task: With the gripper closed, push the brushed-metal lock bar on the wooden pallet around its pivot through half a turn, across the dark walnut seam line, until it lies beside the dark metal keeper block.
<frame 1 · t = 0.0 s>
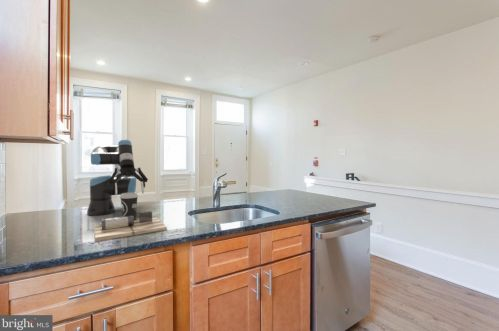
hand: (130, 193, 138), 15 cm above the worktop, tool tilted 35°, fingers open, 13 cm apart
coffee cup: (129, 219, 140), on the worktop
wooden pallet: (130, 229, 122), on the worktop
lock bar: (118, 222, 120), point 4 cm above the worktop, hinge at 0.0°
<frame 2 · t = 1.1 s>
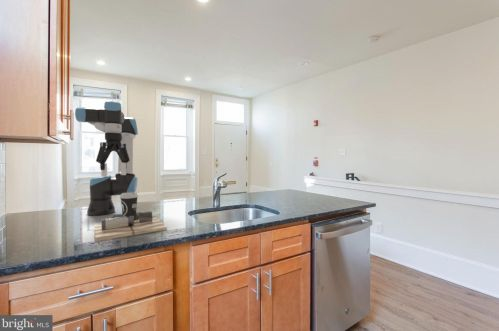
hand: (114, 175, 125), 26 cm above the worktop, tool pointing down, fingers open, 11 cm apart
nothing on the worktop moved.
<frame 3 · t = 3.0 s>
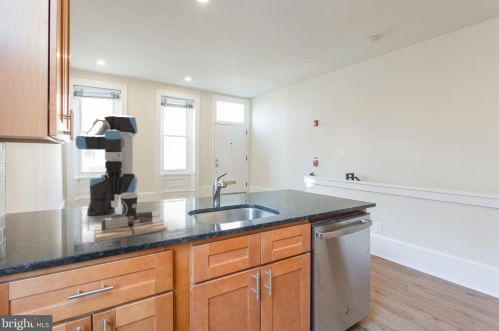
hand: (114, 206, 125), 10 cm above the worktop, tool pointing down, fingers closed
nothing on the worktop moved.
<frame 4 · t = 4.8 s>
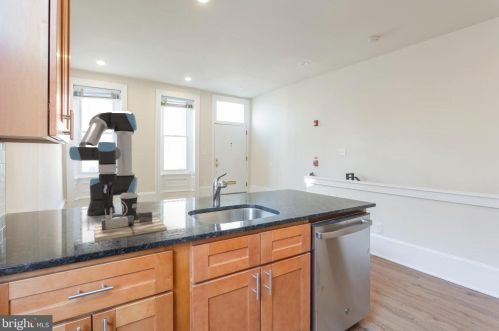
hand: (108, 221, 120), 4 cm above the worktop, tool pointing down, fingers closed
lock bar: (118, 222, 120), point 4 cm above the worktop, hinge at 0.0°, touching gripper
everything else where it was.
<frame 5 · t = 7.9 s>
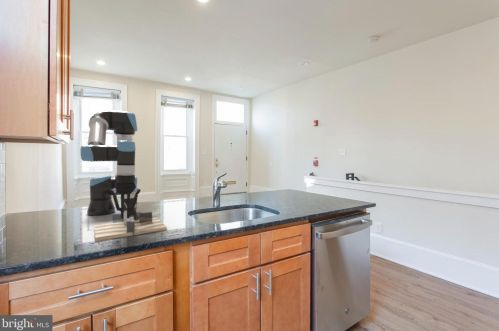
hand: (125, 225, 113), 4 cm above the worktop, tool pointing down, fingers closed
lock bar: (130, 223, 118), point 4 cm above the worktop, hinge at 84.6°, touching gripper
everything else where it was.
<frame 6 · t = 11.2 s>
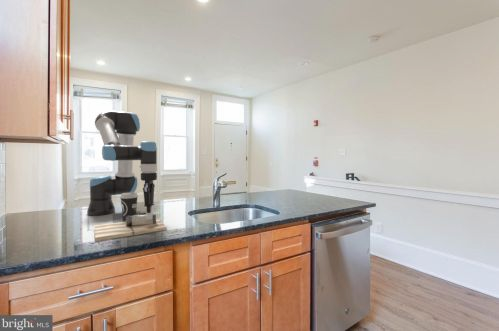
hand: (149, 218, 124), 5 cm above the worktop, tool pointing down, fingers closed
lock bar: (141, 219, 125), point 4 cm above the worktop, hinge at 170.0°, touching gripper
everything else where it was.
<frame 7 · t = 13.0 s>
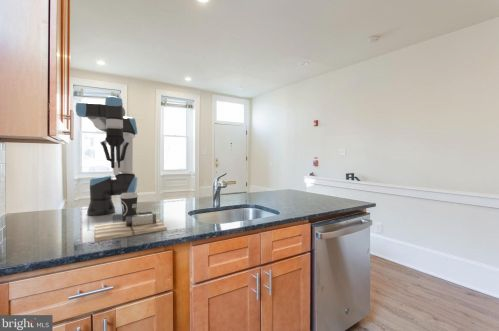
hand: (115, 174, 126), 27 cm above the worktop, tool pointing down, fingers closed
lock bar: (141, 219, 125), point 4 cm above the worktop, hinge at 173.4°
everything else where it was.
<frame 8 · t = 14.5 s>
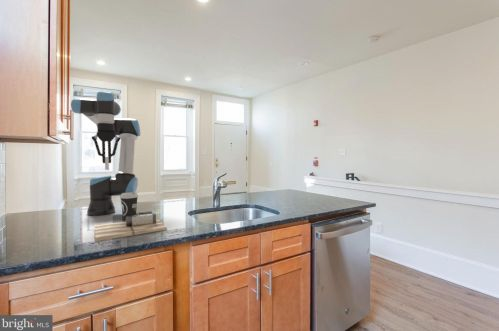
hand: (107, 169, 125), 29 cm above the worktop, tool pointing down, fingers closed
nothing on the worktop moved.
at the end: lock bar at +173° (first picture: +0°); coffee cup moved 0.2 cm from its start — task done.
